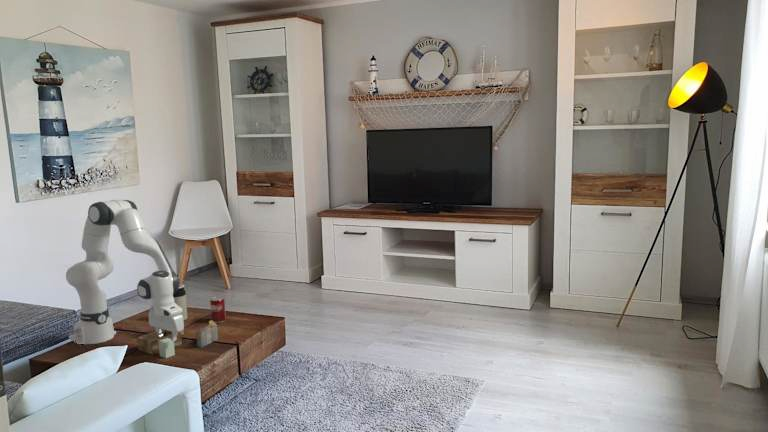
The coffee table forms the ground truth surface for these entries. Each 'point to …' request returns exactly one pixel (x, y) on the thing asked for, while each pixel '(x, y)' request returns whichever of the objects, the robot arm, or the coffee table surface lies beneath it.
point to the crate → (155, 341)
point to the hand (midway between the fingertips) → (167, 338)
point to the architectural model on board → (207, 334)
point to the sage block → (166, 348)
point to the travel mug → (181, 300)
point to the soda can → (218, 309)
